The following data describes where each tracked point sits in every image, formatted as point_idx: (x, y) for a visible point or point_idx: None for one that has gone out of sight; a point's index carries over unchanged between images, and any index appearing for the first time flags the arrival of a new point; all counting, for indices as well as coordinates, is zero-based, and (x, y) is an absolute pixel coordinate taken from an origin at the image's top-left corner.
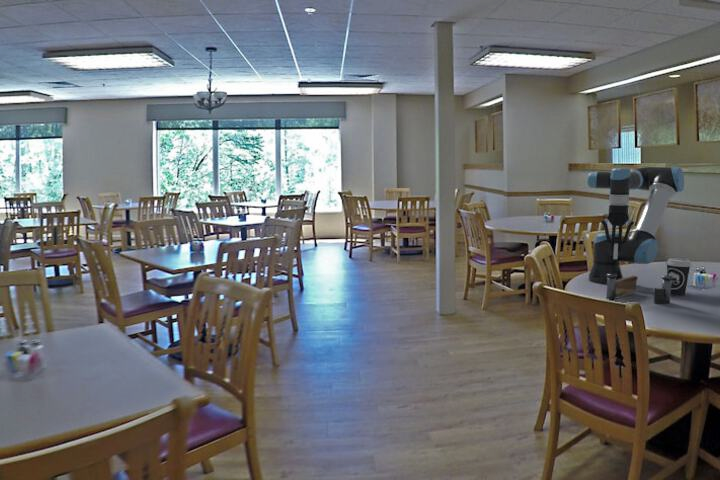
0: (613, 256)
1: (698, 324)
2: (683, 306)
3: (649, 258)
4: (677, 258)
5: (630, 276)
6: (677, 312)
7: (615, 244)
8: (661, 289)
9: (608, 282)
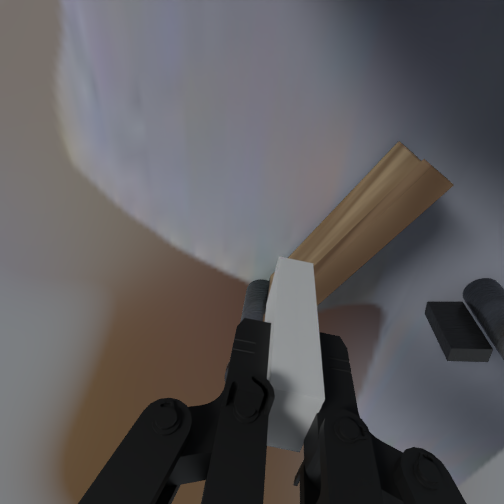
0: (265, 320)
1: (448, 461)
2: None
3: None
4: None
5: (399, 199)
6: (451, 391)
7: (268, 444)
8: (473, 360)
9: None
